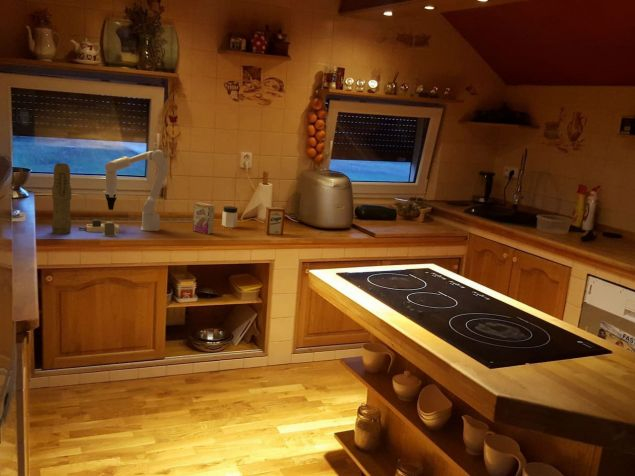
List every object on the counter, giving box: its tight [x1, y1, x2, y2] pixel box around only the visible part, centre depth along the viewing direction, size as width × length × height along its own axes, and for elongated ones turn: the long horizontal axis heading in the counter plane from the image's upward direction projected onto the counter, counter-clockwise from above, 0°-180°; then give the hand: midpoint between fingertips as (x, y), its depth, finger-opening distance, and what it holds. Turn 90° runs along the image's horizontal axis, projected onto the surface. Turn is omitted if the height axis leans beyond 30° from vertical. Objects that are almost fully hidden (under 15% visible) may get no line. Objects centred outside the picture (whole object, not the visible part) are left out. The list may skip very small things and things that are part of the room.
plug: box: [91, 218, 102, 226], centre depth 317 cm, size 4×4×3 cm
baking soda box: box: [264, 206, 286, 236], centre depth 349 cm, size 10×6×16 cm
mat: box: [101, 232, 118, 237], centre depth 311 cm, size 7×7×1 cm
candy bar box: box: [192, 201, 215, 235], centre depth 336 cm, size 11×5×16 cm, turn 59°
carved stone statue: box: [51, 162, 72, 235], centre depth 303 cm, size 9×12×35 cm
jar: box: [221, 205, 239, 228], centre depth 359 cm, size 9×8×12 cm
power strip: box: [78, 223, 120, 233], centre depth 318 cm, size 20×8×3 cm, turn 111°
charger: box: [104, 221, 115, 235], centre depth 310 cm, size 4×4×6 cm
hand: (110, 208), depth 327 cm, fingers open, 7 cm apart
